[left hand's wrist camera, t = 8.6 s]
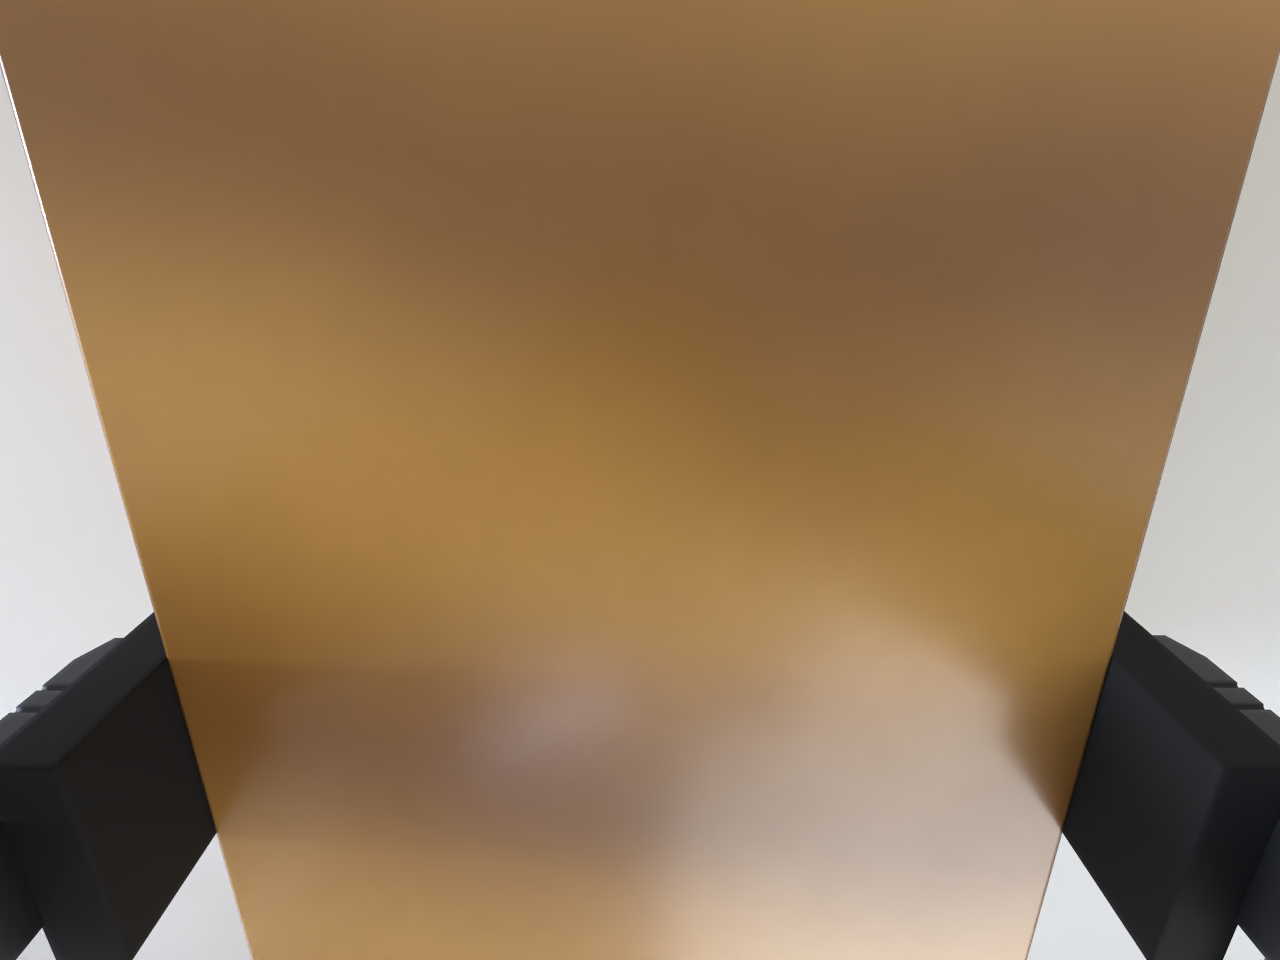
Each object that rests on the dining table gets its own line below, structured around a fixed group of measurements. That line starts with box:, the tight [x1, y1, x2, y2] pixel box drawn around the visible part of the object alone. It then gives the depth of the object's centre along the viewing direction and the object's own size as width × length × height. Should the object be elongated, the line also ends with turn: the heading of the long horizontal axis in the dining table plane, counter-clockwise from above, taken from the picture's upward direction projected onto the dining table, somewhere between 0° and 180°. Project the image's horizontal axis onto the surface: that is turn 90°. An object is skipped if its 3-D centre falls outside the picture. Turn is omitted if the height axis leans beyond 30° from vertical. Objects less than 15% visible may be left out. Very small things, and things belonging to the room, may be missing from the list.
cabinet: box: [0, 0, 1280, 960], centre depth 11 cm, size 22×11×10 cm, turn 0°
